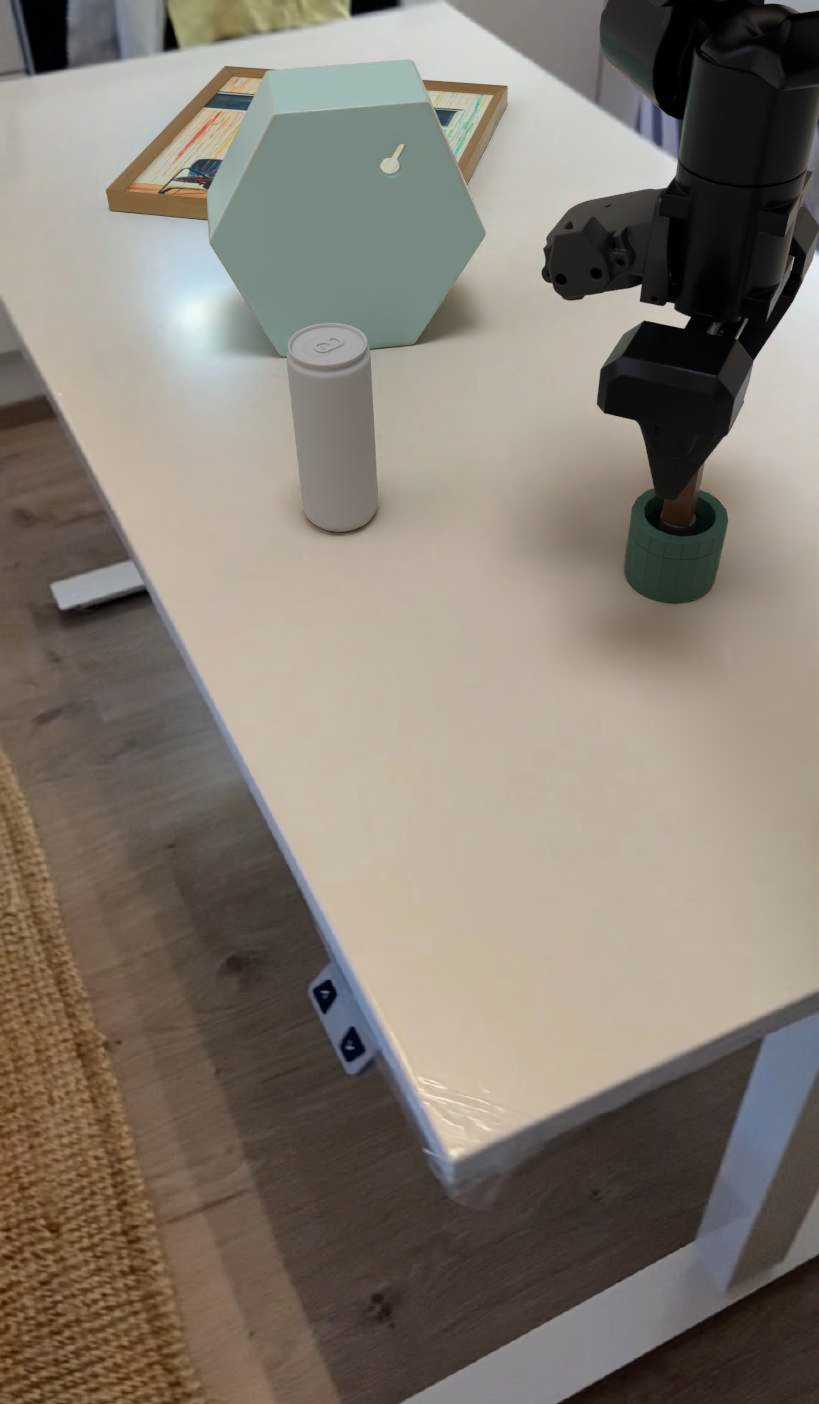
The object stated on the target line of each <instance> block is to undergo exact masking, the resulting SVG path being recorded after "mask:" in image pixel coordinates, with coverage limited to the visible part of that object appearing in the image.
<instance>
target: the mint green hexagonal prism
mask: <svg viewBox="0 0 819 1404" xmlns="http://www.w3.org/2000/svg"><path fill="white" fill-rule="evenodd" d="M422 80H423V78H422V76H421V75H420V72H419V70H418V66H417V65H416V62H415V61H414V60H413V59H396V60H394V59H393V60H382V61H371V62H358V63H346V64H345V63H343V64H333V65H332V64H331V65H319V66H318V65H317V66H307V67H306V66H305V67H293V68H281V69H280V68H279V69H276V70H269V71H267V72H266V73H265V75H264V77H263V79H262V81H261V83H260V85H259V87H258V89H257V91H256V93H255V95H254V97H253V99H252V101H251V103H250V105H249V107H248V109H247V111H246V114H245V116H244V118H243V120H242V122H241V124H240V126H239V128H238V130H237V132H236V134H235V136H234V138H233V140H232V142H231V144H230V146H229V148H228V150H227V152H226V154H225V157H224V159H223V161H222V163H221V165H220V167H219V169H218V171H217V173H216V175H215V177H214V179H213V181H212V183H211V185H210V187H209V190H208V192H207V195H206V196H207V214H208V220H207V227H208V229H207V231H208V243H209V245H210V247H211V249H212V250H213V252H214V254H215V255H216V257H217V258H218V260H219V261H220V264H221V265H222V267H223V268H224V269H225V271H226V273H227V274H228V276H229V277H230V279H231V281H232V282H233V284H234V286H235V287H236V289H237V290H238V292H239V293H240V295H241V297H242V298H243V300H244V302H245V303H246V305H247V307H248V308H249V309H250V311H251V313H252V314H253V316H254V317H255V319H256V321H257V322H258V324H259V325H260V327H261V329H262V330H263V332H264V334H265V336H267V338H268V340H269V341H270V343H271V345H272V346H273V347H274V349H275V351H276V353H277V354H278V355H279V356H280V357H281V356H282V357H284V358H285V357H286V358H287V352H288V342H289V340H290V338H291V337H292V336H293V335H294V334H295V333H296V332H298V331H299V330H301V329H303V328H305V327H308V326H311V325H316V324H321V323H341V324H346V325H350V326H353V327H355V328H357V329H359V330H360V331H361V332H363V333H364V334H365V336H366V338H367V344H368V347H369V349H370V350H371V349H382V348H393V347H401V346H411V345H414V344H416V343H417V341H418V340H419V338H420V337H421V335H422V334H423V332H424V331H425V329H426V327H427V326H428V325H429V323H430V321H432V318H434V316H435V314H436V312H437V311H438V309H439V308H440V307H441V305H442V304H443V302H444V300H445V299H446V297H447V295H448V294H449V293H450V291H451V290H452V289H453V287H454V285H455V283H456V282H457V280H458V279H459V278H460V275H461V274H462V272H463V271H464V270H465V268H466V267H467V265H468V263H469V262H470V261H471V259H472V257H473V256H474V254H475V253H476V252H477V250H478V248H479V247H480V246H481V244H482V242H483V240H484V239H485V237H486V236H487V231H486V229H485V226H484V223H483V222H482V219H481V216H480V214H479V212H478V208H477V206H476V204H475V201H474V199H473V196H472V194H471V191H470V189H469V186H468V184H466V181H465V179H464V177H463V174H462V172H461V170H460V167H459V165H458V163H457V160H456V158H455V156H454V153H453V151H452V149H451V146H450V144H449V142H448V139H447V137H446V135H445V132H444V130H443V128H442V125H441V123H440V121H439V118H438V116H437V114H436V111H435V109H434V107H433V104H432V102H431V100H430V97H429V95H428V93H427V90H426V88H425V86H424V83H423V81H422ZM401 144H404V147H403V149H402V151H401V152H400V154H399V156H398V158H397V160H398V162H399V169H398V170H397V171H396V172H395V173H392V174H388V173H385V172H384V171H382V169H381V167H380V164H381V162H382V161H383V160H384V159H386V158H392V156H393V154H394V153H395V151H396V150H397V148H398V146H399V145H401Z"/></svg>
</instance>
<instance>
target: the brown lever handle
mask: <svg viewBox="0 0 819 1404" xmlns="http://www.w3.org/2000/svg"><path fill="white" fill-rule="evenodd" d="M705 463H706V461H705V462H704V463H703V465H702V466H701V467H700V468H699V470H698V471H697V472H696V474H695V475H694V476H693V478H692V479H691V480H690V482H689V483H688V485H687V486H686V487H685V489H684V490H683V491H682V493H681V494H680V495H679V497H678V498H677V499H676V500H674V501H671V500H667V499H664V506H663V511H662V512H661V515H660V522H659V528H658V530H659V531H662V532H664V533H667V534H670V535H675V536H682V537H683V536H693V531H694V526H695V521H696V516H695V512H696V507H697V501H698V496H699V491H700V490H701V485H702V481H703V480H702V479H703V474H704V469H705Z"/></svg>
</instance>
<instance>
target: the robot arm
mask: <svg viewBox="0 0 819 1404" xmlns="http://www.w3.org/2000/svg"><path fill="white" fill-rule="evenodd" d="M599 42H600V46H601V50H602V53H603V56H604V58H605V59H606V62H607V63H608V64H609V66H610V67H611V68H612V69H614V71H615V72H616V73H617V74H618V75H620V76H621V77H622V78H623V79H625V80H626V81H627V82H628V83H629V84H630V85H631V86H633V87H634V88H635V89H636V90H638V91H639V92H640V93H641V94H642V95H643V96H644V97H646V98H647V99H648V100H649V101H650V102H652V103H653V104H654V105H655V106H656V107H657V108H659V109H660V110H661V111H662V112H663V113H664V114H665V115H666V116H668V117H670V118H671V117H672V118H673V119H676V120H678V121H683V122H682V128H681V136H680V142H679V143H680V144H679V150H678V156H677V163H676V170H675V175H674V177H673V178H672V179H671V181H670V182H669V183H668V184H667V186H666V187H663V188H645V189H644V188H643V189H638V190H634V191H629V192H624V193H619V194H613V195H608V196H603V197H597V198H592V199H589V200H585V201H582V202H579V203H577V204H575V205H573V206H572V207H570V208H569V209H568V210H567V211H566V212H565V213H564V214H563V216H562V217H561V218H560V219H559V221H558V222H556V224H555V226H553V228H552V229H551V230H550V231H549V233H548V234H547V236H546V237H545V241H546V244H545V246H544V247H543V248H542V250H543V253H544V259H545V261H544V266H543V267H542V269H541V277H542V280H543V281H545V282H546V283H548V284H552V287H553V290H554V292H555V293H556V294H558V295H559V296H560V297H561V298H562V299H563V300H565V301H567V302H569V301H570V302H571V301H572V302H573V301H574V302H575V301H581V300H583V299H584V298H585V297H586V296H593V295H600V294H603V293H608V292H615V291H621V290H627V289H628V290H629V289H632V288H636V287H638V286H641V287H640V294H639V295H640V296H639V302H640V303H644V304H648V305H654V306H658V307H665V306H666V305H667V304H668V303H669V304H673V305H674V306H673V309H674V310H675V312H677V313H679V314H682V315H684V316H686V317H689V319H688V320H687V322H686V324H685V326H684V327H678V326H674V325H669V324H664V323H659V322H654V321H649V320H643V321H641V322H640V323H638V324H637V325H635V326H633V327H632V328H630V329H629V330H627V331H626V332H624V333H623V334H622V335H621V337H620V338H619V340H618V342H617V343H616V345H615V346H614V348H613V349H612V351H611V353H610V354H609V355H608V357H607V359H606V360H605V362H604V363H603V365H602V367H601V368H600V370H599V379H598V387H597V388H598V389H597V397H596V406H597V407H598V408H599V409H600V410H601V411H602V413H603V414H604V415H609V416H614V417H618V418H621V419H622V418H623V419H627V420H631V421H635V422H636V423H637V424H638V427H639V428H640V433H641V435H642V438H643V443H644V447H645V452H646V457H647V461H648V466H649V471H650V475H651V481H652V485H653V488H654V491H655V495H656V496H657V497H659V498H663V499H667V500H671V501H674V500H676V499H677V498H678V497H679V495H680V494H681V493H682V491H683V490H684V489H685V487H686V486H687V485H688V483H689V482H690V480H691V479H692V478H693V476H694V475H695V474H696V472H697V471H698V470H699V468H700V467H701V466H702V465H703V463H704V462H705V463H706V462H707V460H708V459H709V457H710V456H711V454H712V453H713V452H714V450H715V449H716V448H717V447H718V445H719V444H720V443H721V442H722V440H723V439H724V438H726V437H727V436H728V435H729V433H730V432H731V430H732V428H733V426H734V424H735V422H736V420H737V418H738V416H739V414H740V412H741V410H742V408H743V406H744V404H745V397H746V394H747V390H748V387H749V384H750V381H751V377H752V371H753V367H754V362H755V360H756V358H757V357H758V355H759V354H760V352H761V351H762V350H763V348H764V346H765V345H766V343H767V341H768V340H769V339H770V337H771V335H773V333H774V331H775V330H776V328H777V327H778V326H779V324H780V322H781V321H782V320H783V318H784V316H785V315H786V313H787V311H788V310H789V308H790V307H791V306H792V305H793V302H794V301H795V299H796V296H797V295H798V293H799V290H800V289H801V286H802V285H803V282H804V280H805V277H806V275H807V273H808V271H809V269H810V267H811V264H812V263H813V260H814V256H815V252H816V247H817V244H818V241H819V240H818V239H819V223H818V221H817V220H816V219H815V218H814V216H813V214H812V213H811V212H810V210H809V208H808V207H807V206H802V205H803V203H804V202H805V200H806V198H807V196H808V194H809V191H810V186H811V183H812V177H813V173H814V171H812V170H808V166H809V162H810V157H811V153H812V149H813V144H814V141H815V135H816V131H817V125H818V121H819V10H811V11H804V12H800V11H798V10H797V9H796V8H793V7H792V6H789V5H786V4H781V3H773V2H772V3H771V2H770V3H765V0H607V1H606V5H605V8H604V9H603V10H602V12H601V14H600V19H599Z"/></svg>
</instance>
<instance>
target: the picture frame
mask: <svg viewBox="0 0 819 1404" xmlns="http://www.w3.org/2000/svg"><path fill="white" fill-rule="evenodd" d="M269 70H277V69H275V68H261V67H245V66H232V65H231V66H230V65H224V66H223V67H222V68H221V69H220V70H219V71H218V72H217V73H216V74H215V76H214V77H212V79H210V81H209V82H207V84H205V86H204V87H203V88H202V89H201V90H200V91H199V92H198V93H197V94H196V95H195V96H194V97H193V98H192V99H191V100H190V101H189V102H188V104H186V106H184V108H183V109H182V110H181V111H180V112H179V113H178V114H177V115H176V116H175V117H174V118H173V119H172V120H171V121H170V122H169V123H168V124H167V125H166V126H165V128H164V129H162V131H160V133H159V134H158V135H156V136H155V138H154V139H153V140H152V141H151V142H150V143H149V144H148V145H147V146H146V147H145V148H144V149H143V150H142V151H141V152H140V153H139V154H138V156H136V158H134V160H133V161H132V162H131V163H130V164H129V165H128V166H127V167H126V168H124V170H123V171H122V172H121V173H120V174H119V175H118V176H117V177H116V178H115V179H114V180H113V182H112V183H110V185H109V186H108V187H107V188H106V189H105V193H106V198H107V204H108V208H109V211H113V212H122V213H131V214H141V215H142V214H144V215H153V216H154V215H155V216H163V217H175V218H183V219H184V218H186V219H195V220H205V221H208V214H207V196H206V195H207V192H208V190H209V187H210V185H211V183H212V181H213V179H214V177H215V175H216V173H217V171H218V169H219V167H220V165H221V163H222V161H223V159H224V157H225V154H226V152H227V150H228V148H229V146H230V144H231V142H232V140H233V138H234V136H235V134H236V132H237V130H238V128H239V126H240V124H241V122H242V120H243V118H244V116H245V114H246V111H247V109H248V107H249V105H250V103H251V101H252V99H253V97H254V95H255V93H256V91H257V89H258V87H259V85H260V83H261V81H262V79H263V77H264V75H265V73H266V72H267V71H269ZM422 81H423V83H424V86H425V88H426V90H427V93H428V95H429V97H430V100H431V102H432V104H433V107H434V109H435V111H436V114H437V116H438V118H439V121H440V123H441V125H442V128H443V130H444V132H445V135H446V137H447V139H448V142H449V144H450V146H451V149H452V151H453V153H454V156H455V158H456V160H457V163H458V165H459V167H460V170H461V172H462V174H463V177H464V179H465V181H466V184H467V185H468V184H469V182H470V180H471V178H472V176H473V174H474V172H475V170H476V169H477V166H478V164H479V162H480V160H481V158H482V156H483V155H484V152H485V151H486V148H487V146H488V144H489V142H490V140H491V138H492V136H493V135H494V132H495V130H496V128H497V126H498V124H499V122H500V121H501V119H502V117H503V114H504V113H505V110H506V108H507V106H508V98H509V97H508V94H509V85H503V84H502V85H501V84H489V83H473V82H461V81H460V82H459V81H444V80H433V79H432V80H431V79H422ZM403 147H404V144H401V145H399V146H398V148H397V150H396V151H395V153H394V154H393V156H392V158H386V159H384V160H383V161H382V162H381V164H380V167H381V169H382V171H384V172H385V173H388V174H392V173H395V172H396V171H397V170H398V169H399V162H398V160H397V158H398V156H399V154H400V152H401V151H402V149H403Z"/></svg>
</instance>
